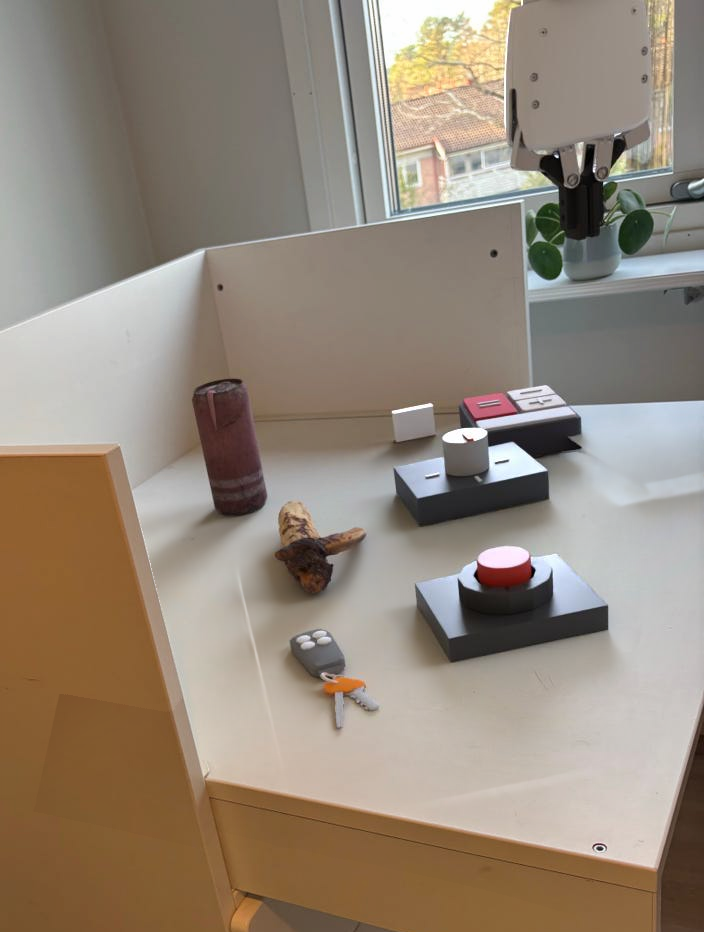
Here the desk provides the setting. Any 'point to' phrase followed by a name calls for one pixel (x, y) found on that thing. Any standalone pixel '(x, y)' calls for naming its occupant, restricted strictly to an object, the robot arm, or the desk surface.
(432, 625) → the button base
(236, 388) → the can
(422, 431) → the eraser
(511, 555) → the power button
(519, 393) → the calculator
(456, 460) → the knob
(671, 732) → the desk surface
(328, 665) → the key chain
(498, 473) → the dial panel
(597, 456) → the desk surface
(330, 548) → the brown gnarled root
